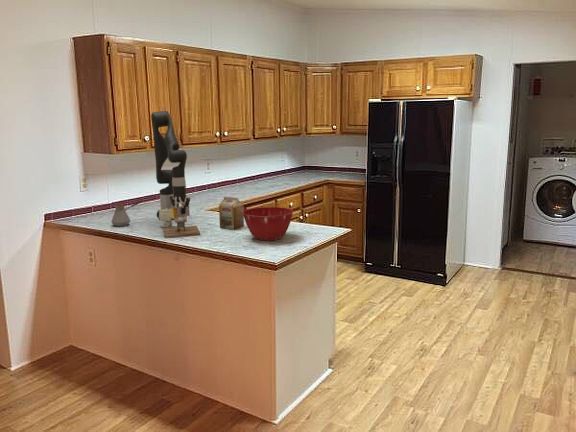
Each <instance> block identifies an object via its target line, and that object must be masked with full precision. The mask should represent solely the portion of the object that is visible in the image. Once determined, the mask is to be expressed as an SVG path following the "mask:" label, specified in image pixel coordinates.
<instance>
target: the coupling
mask: <svg viewBox="0 0 576 432" xmlns="http://www.w3.org/2000/svg"><path fill="white" fill-rule="evenodd" d="M170 210H171V218H173V219H175V220H174V223H175V224H177V223H185V224H186V223H187V222H188V219H187V218H188V217H189V216H190V215H191V214H190V205H189V206H188V207H186V213H185V214H182V205H179V206H178V207H172V208H170Z"/></svg>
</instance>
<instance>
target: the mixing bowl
mask: <svg viewBox="0 0 576 432" xmlns="http://www.w3.org/2000/svg"><path fill="white" fill-rule="evenodd" d="M242 213H243V215H244V223H245V224H246V226H247V229H248V231H249V232H250V234H251V236H253V238H255V239H257V240H259V241H268V242H270V241H277V240H280V239H281V238H282V237H284V236H285V235H286V233H287V231H288V229H289V227H290V225H291V221H292V218H293V213H294V210H293V209H291V208H287V207H281V206H279V207H277V206H263V207H253V208H249V209H245V210H244V211H243V212H242Z"/></svg>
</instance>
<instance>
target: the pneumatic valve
mask: <svg viewBox="0 0 576 432" xmlns="http://www.w3.org/2000/svg"><path fill="white" fill-rule="evenodd" d="M156 218H158V221H163V222H162V226H163V228H172V227H173V222H172V221H175V220H174V219H173V218H171V210H170V209H167V208H166V209H161V208H160V209H158V210H157V212H156Z"/></svg>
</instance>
